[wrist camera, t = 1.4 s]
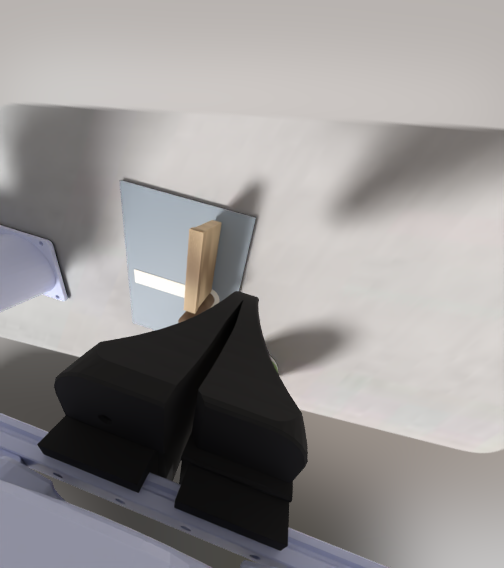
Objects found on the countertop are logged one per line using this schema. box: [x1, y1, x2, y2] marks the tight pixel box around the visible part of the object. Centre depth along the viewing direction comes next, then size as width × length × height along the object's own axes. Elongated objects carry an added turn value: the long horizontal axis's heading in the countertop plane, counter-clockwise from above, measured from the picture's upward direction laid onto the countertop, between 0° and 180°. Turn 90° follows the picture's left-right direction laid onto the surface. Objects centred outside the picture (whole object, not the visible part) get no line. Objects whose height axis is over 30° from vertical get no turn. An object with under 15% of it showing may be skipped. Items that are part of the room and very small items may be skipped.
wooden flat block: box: [184, 220, 222, 314], centre depth 16 cm, size 7×1×4 cm, turn 166°
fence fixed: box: [178, 293, 215, 323], centre depth 20 cm, size 2×9×5 cm, turn 166°
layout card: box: [120, 180, 256, 330], centre depth 20 cm, size 12×16×1 cm
